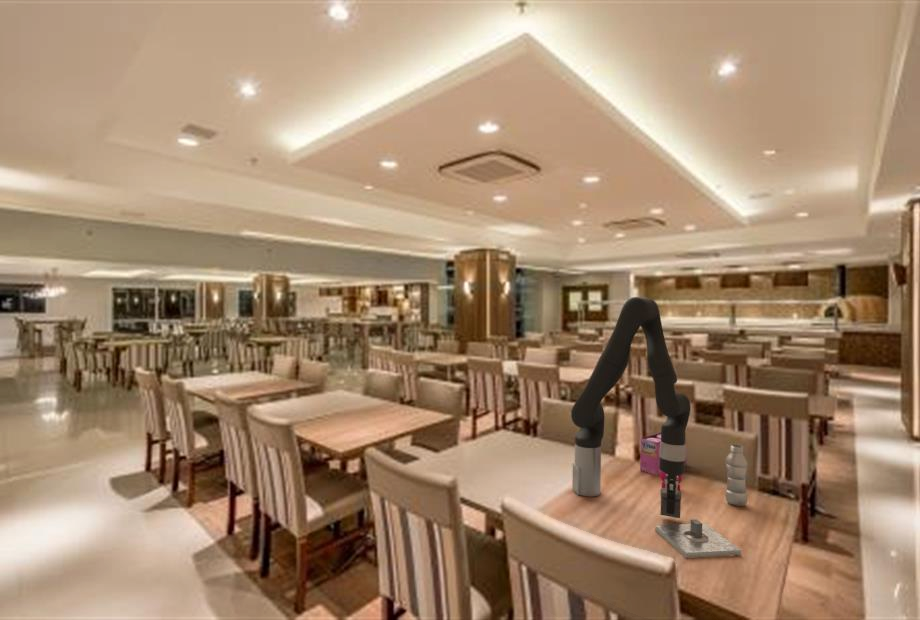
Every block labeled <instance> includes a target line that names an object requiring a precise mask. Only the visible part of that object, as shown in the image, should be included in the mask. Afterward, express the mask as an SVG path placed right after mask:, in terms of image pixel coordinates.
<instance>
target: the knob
mask: <svg viewBox="0 0 920 620" xmlns="http://www.w3.org/2000/svg"><path fill="white" fill-rule="evenodd" d="M682 495H683V494H682V492H681V490H680V491H678V490H677V495H676V496H675V500H676V502H675V510H674V514H669V513H667V500H666V498H667V493H666V492H665V488H662V487H661V489H660V515H661V516H666V517H670V518H676V519H681V509H682V508H681V506H682V505H681V504H682V503H681V501H682ZM668 498H674V496H673V495H668Z"/></svg>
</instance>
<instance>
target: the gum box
mask: <svg viewBox="0 0 920 620" xmlns="http://www.w3.org/2000/svg"><path fill="white" fill-rule="evenodd" d="M660 443H661V432H658V433H654V434H651V435H648V436H644V437H640V452H639V453H640V455H639V456H640V459H639V460H640V461H639V462H640V463H639V464H640V465H639V466H640V467H639V471H640V470H642V471H641V472H643V471H645V472H644V473H646V472H648V473H647V474H650V473H651V474H650V475H653V474H654V475H653V476H656V475H657V476H660V475H661V470H660V469H659V453H660ZM685 449H686V450H687V433H686V432H685ZM685 466H687V457H686V458H685Z"/></svg>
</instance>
